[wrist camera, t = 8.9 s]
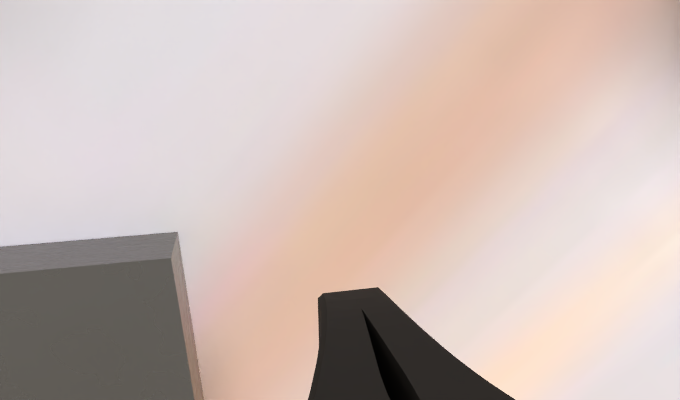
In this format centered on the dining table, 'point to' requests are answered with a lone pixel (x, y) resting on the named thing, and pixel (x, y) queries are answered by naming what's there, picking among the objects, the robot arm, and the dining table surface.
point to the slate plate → (97, 321)
